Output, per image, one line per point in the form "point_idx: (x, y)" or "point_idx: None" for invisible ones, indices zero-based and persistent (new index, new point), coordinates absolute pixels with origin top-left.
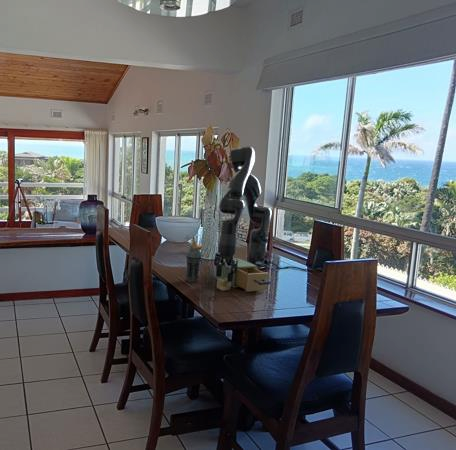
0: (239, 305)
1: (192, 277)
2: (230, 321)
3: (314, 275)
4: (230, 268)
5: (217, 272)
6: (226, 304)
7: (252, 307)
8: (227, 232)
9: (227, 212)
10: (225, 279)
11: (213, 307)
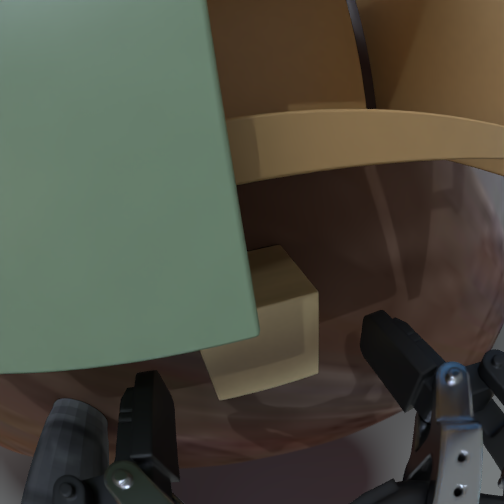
0: (474, 287)
1: (108, 449)
2: (495, 340)
3: None
4: (433, 439)
5: (175, 439)
6: (447, 335)
7: (499, 242)
8: None
9: None
10: (273, 345)
11: None
